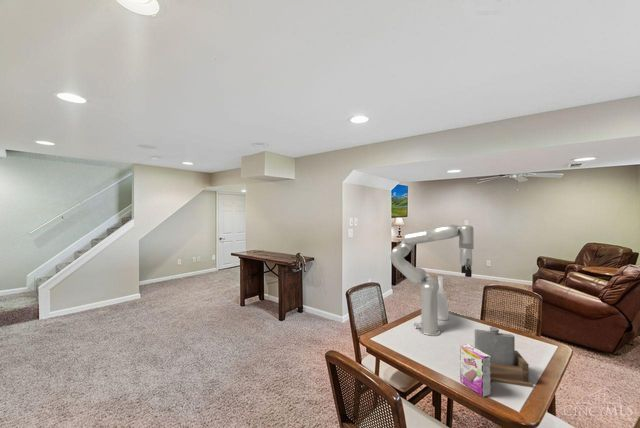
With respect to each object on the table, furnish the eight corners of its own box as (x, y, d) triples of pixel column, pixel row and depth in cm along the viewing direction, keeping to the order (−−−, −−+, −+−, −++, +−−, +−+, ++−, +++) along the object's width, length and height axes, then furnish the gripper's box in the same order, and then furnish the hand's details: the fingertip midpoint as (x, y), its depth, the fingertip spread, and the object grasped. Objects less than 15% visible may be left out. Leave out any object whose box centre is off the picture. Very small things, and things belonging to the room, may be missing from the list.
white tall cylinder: (449, 321, 184) (449, 278, 184) (434, 320, 187) (434, 277, 187) (447, 316, 193) (446, 275, 193) (432, 315, 196) (432, 274, 196)
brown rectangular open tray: (532, 387, 115) (532, 366, 115) (470, 377, 122) (470, 358, 122) (518, 367, 129) (518, 349, 129) (463, 360, 136) (463, 342, 136)
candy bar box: (459, 381, 119) (459, 345, 119) (467, 379, 121) (467, 343, 121) (482, 398, 108) (482, 358, 108) (491, 395, 110) (491, 355, 110)
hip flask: (513, 372, 124) (513, 329, 124) (515, 376, 121) (515, 332, 120) (474, 364, 131) (474, 323, 131) (475, 368, 127) (475, 327, 127)
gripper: (456, 244, 168) (456, 271, 168) (462, 247, 151) (462, 278, 151) (469, 244, 165) (469, 272, 165) (477, 248, 149) (477, 278, 149)
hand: (466, 275), depth 158 cm, fingers open, 9 cm apart
